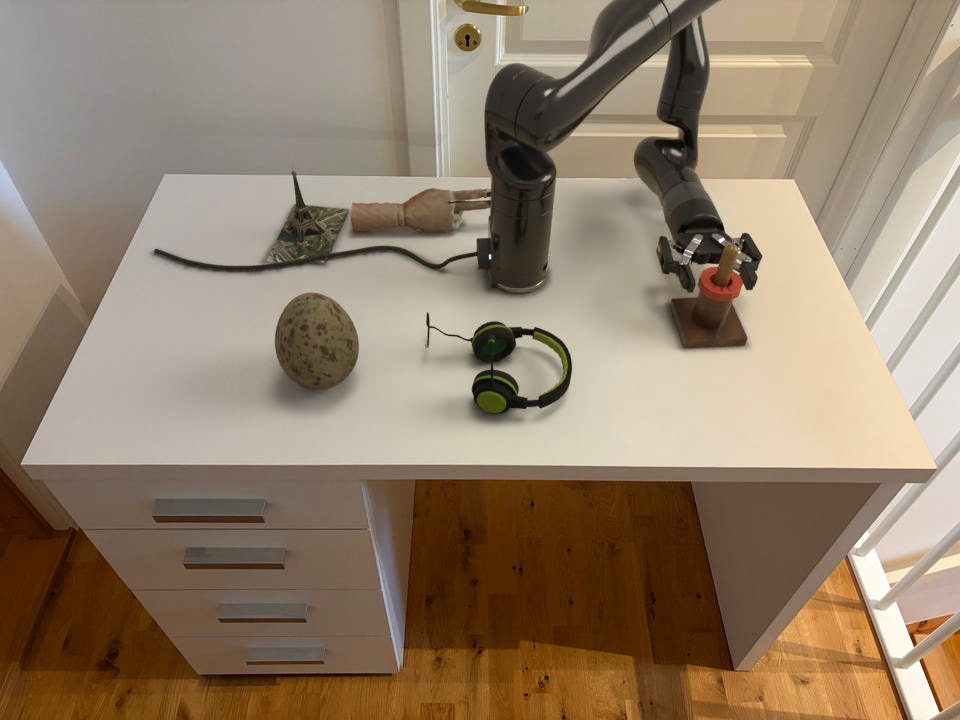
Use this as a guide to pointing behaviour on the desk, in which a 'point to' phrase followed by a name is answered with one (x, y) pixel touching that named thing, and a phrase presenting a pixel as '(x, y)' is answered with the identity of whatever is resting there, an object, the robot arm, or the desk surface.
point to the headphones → (499, 387)
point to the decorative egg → (316, 342)
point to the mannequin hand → (420, 211)
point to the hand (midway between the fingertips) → (722, 287)
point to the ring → (719, 292)
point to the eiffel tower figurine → (307, 231)
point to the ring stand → (710, 312)
